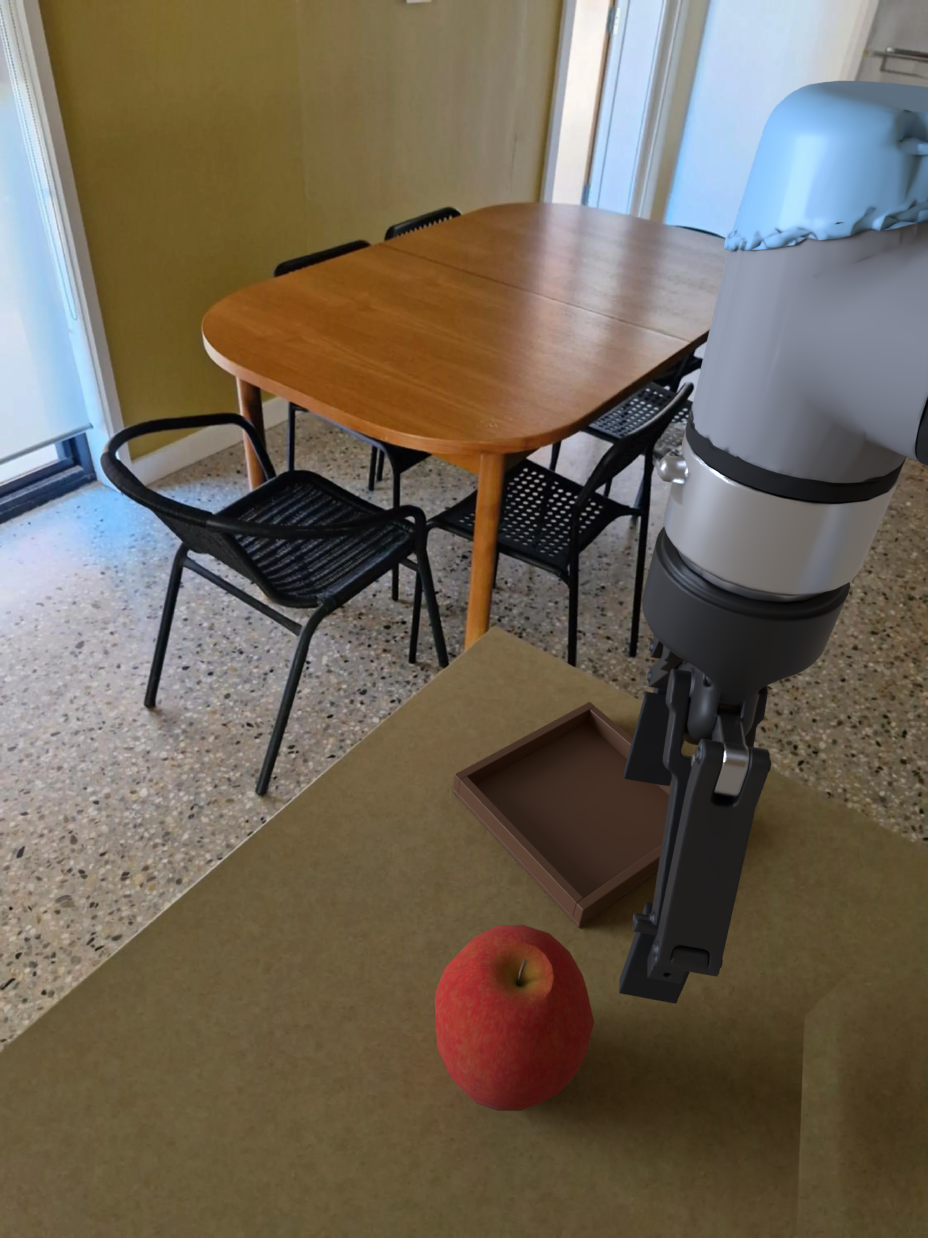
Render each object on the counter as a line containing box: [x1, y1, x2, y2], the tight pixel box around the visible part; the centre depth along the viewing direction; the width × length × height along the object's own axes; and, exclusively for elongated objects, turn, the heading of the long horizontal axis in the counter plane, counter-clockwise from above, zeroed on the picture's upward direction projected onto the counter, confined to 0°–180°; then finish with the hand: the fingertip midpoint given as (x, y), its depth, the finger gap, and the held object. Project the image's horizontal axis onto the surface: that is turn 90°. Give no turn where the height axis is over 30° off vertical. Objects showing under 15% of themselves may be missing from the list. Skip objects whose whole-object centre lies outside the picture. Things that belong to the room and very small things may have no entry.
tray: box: [452, 701, 671, 929], centre depth 78 cm, size 17×17×2 cm
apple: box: [434, 924, 595, 1112], centre depth 57 cm, size 10×10×14 cm
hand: (646, 873), depth 48 cm, fingers open, 13 cm apart
